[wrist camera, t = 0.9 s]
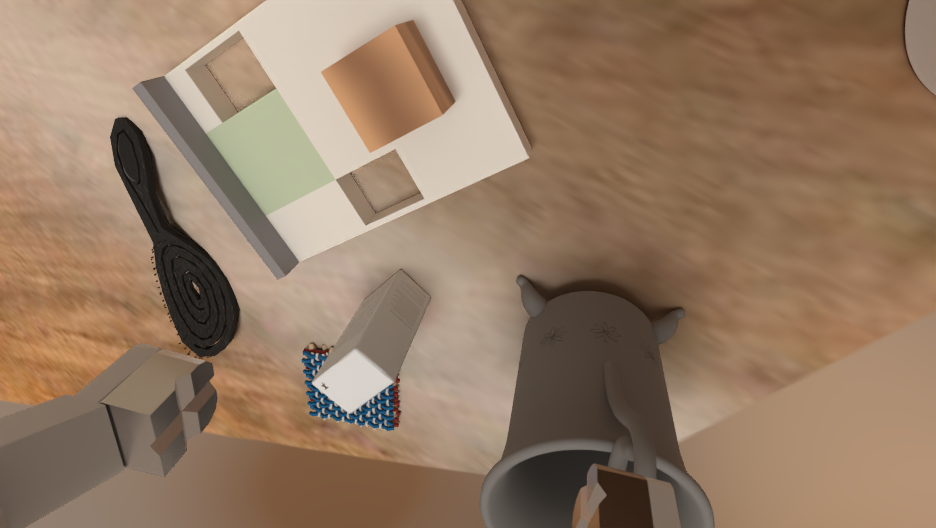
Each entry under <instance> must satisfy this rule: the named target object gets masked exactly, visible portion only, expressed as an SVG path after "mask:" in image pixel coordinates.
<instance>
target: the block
mask: <svg viewBox="0 0 936 528" xmlns="http://www.w3.org/2000/svg"><path fill="white" fill-rule="evenodd" d="M321 73H322V75H323V77H324V78H325V80H326V82H327V83H328V85H329V86H330V88H331V90H332V91H333V93H334V95H335V96H336V98H337V100H338V101H339V103H340V105H341V106H342V108H343V110H344V111H345V113H346V114H347V116H348V118H349V119H350V121H351V123H352V124H353V126H354V128H355V129H356V131H357V133H358V134H359V136H360V137H361V139H362V141H363V142H364V144H365V146H366V147H367V149H368V151H369V152H370V153H371V152H373V151H375V150H377V149H379V148H381V147H383V146H385V145H387V144H389V143H391V142H392V141H394V140H396V139H398V138H400V137H402V136H404V135H406V134H408V133H410V132H411V131H413V130H415V129H417V128H419V127H421V126H423V125H425V124H427V123H429V122H431V121H432V120H434V119H436V118H438V117H440V116H442V115H443V114H444V113H445V112H446V111H447V110H448V109H449V108H450V107H451V106H452V105H453V104H454V103H455V102H456V101H455V99H454V97H453V96H452V94H451V92H450V90H449V88H448V86H447V84H446V82H445V80H444V78H443V76H442V74H441V72H440V70H439V69H438V67H437V65H436V63H435V61H434V59H433V57H432V55H431V53H430V51H429V49H428V47H427V45H426V43H425V41H424V40H423V38H422V36H421V34H420V32H419V30H418V28H417V26H416V24H415V22H414V20H411V21H407V22H404V23H400V24H397V25H394V26H393V27H391V28H389V29H388V30H386V31H385V32H383V33H382V34H380V35H378V36H377V37H375V38H374V39H372V40H370V41H369V42H367V43H366V44H364V45H363V46H361V47H359V48H358V49H356V50H355V51H353V52H351V53H350V54H348V55H347V56H345V57H344V58H342V59H340V60H339V61H337V62H336V63H334V64H332V65H331V66H329V67H328V68H326V69H324V70H323V71H321Z"/></svg>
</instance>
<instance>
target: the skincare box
mask: <svg viewBox="0 0 936 528" xmlns="http://www.w3.org/2000/svg"><path fill="white" fill-rule="evenodd" d="M430 299H431V298H430V296H429V295H428V294H427V293H426V292H425V291H424V290H423V289H422V288H420V287H419V286H418V285H417V284H416V283H415V282H414V281H413V280H412V279H411V278H410V277H409V276H408V275H407V274H405V273H404V272H403V271H402V270H399V271H398V272H397V273H396V274H394V275H393V276H392V277H391V278H390V279H389V280H387V281H386V282H385V283H384V284H383V285H382V286H380V287H379V288H378V289H377V290H376V291H375V292H373V293H372V294H371V295H370V296H369V297H368V298H366V299H365V300H364V301H363V302H362V304H361V305H360V307H359V309H358V310H357V312H356V313H355V315H354V316H353V318H352V320H351V321H350V323H349V324H348V326H347V327H346V329H345V331H344V332H343V334H342V335H341V337H340V338H339V340H338V342H337V343H336V345H335V346H334V348H333V349H332V351H331V352H330V354H329V356H328V357H327V359H326V360H325V362H324V363H323V365H322V366H321V368H320V369H319V371H318V373H317V374H316V376H315V378H314V379H313V381H312V384H313V385H314V386H315V387H316V388H318V389H319V390H320V391H321V392H323V393H324V394H325V395H326V396H328V397H329V398H330V399H331V400H332V401H334V402H335V403H336V404H337V405H339V406H340V407H341V408H342V409H344V410H345V411H346V412H348V413H352V412H353V411H355V410H356V409H358V408H359V407H361V406H362V405H363V404H365V403H366V402H367V401H369V400H370V399H372V398H373V397H374V396H376V395H377V394H378V393H380V392H381V391H382V390H384V389H385V388H387V387H388V386H389V385H391V384H392V383H394V382H395V379H396V377H397V375H398V373H399V370H400V368H401V366H402V363H403V361H404V359H405V357H406V354H407V352H408V350H409V347H410V345H411V343H412V341H413V338H414V336H415V334H416V332H417V329H418V327H419V324H420V322H421V320H422V318H423V315H424V313H425V311H426V308H427V306H428V304H429V301H430Z"/></svg>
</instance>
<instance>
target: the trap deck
mask: <svg viewBox="0 0 936 528" xmlns="http://www.w3.org/2000/svg"><path fill="white" fill-rule="evenodd" d="M411 20H414V22H415V24H416V26H417V28H418V30H419V32H420V34H421V36H422V38H423V40H424V41H425V43H426V45H427V47H428V49H429V51H430V53H431V55H432V57H433V59H434V61H435V63H436V65H437V67H438V69H439V70H440V72H441V74H442V76H443V78H444V80H445V82H446V84H447V86H448V88H449V90H450V92H451V94H452V96H453V97H454V99H455V101H456V102H455V103H454V104H453V105H452V106H451V107H450V108H449V109H448V110H447V111H446V112H445V113H444V114H443V115H442V116H440V117H438V118H436V119H434V120H432V121H431V122H429V123H427V124H425V125H423V126H421V127H419V128H417V129H415V130H413V131H411V132H410V133H408V134H406V135H404V136H402V137H400V138H398V139H396V140H394V141H392V142H391V143H389V144H387V145H385V146H383V147H381V148H379V149H377V150H375V151H373V152H371V153H370V152H369V151H368V149H367V147H366V146H365V144H364V142H363V141H362V139H361V137H360V136H359V134H358V133H357V131H356V129H355V128H354V126H353V124H352V123H351V121H350V119H349V118H348V116H347V114H346V113H345V111H344V110H343V108H342V106H341V105H340V103H339V101H338V100H337V98H336V96H335V95H334V93H333V91H332V90H331V88H330V86H329V85H328V83H327V82H326V80H325V78H324V77H323V75H322V73H321V71H323V70H324V69H326V68H328V67H329V66H331V65H332V64H334V63H336V62H337V61H339V60H340V59H342V58H344V57H345V56H347V55H348V54H350V53H351V52H353V51H355V50H356V49H358V48H359V47H361V46H363V45H364V44H366V43H367V42H369V41H370V40H372V39H374V38H375V37H377V36H378V35H380V34H382V33H383V32H385V31H386V30H388V29H389V28H391V27H393V26H394V25H397V24H400V23H404V22H407V21H411ZM242 38H244V39H245V41H246V42H247V44H248V45H249V47H250V49H251V50H252V52H253V53H254V55H255V56H256V58H257V59H258V61H259V62H260V64H261V65H262V67H263V69H264V70H265V72H266V73H267V75H268V76H269V78H270V79H271V81H272V82H273V84H274V85H275V87H276V89H274V90H273V91H271V92H270V93H268V94H267V95H265V96H264V97H262V98H260V99H259V100H257V101H256V102H254V103H253V104H251V105H250V106H248V107H246V108H245V109H243V110H242V111H240V112H239V113H238V112H237V110H236V109H235V107H234V106H233V104H232V103H231V101H230V100H229V98H228V97H227V96H226V94H225V93H224V91H223V90H222V88H221V87H220V85H219V84H218V83H217V81H216V80H215V78H214V77H213V75H212V74H211V72H210V71H209V70H208V68H207V67H206V64H207V63H209V62H210V61H211V60H213V59H214V58H216V57H217V56H218V55H220V54H221V53H223V52H224V51H225V50H227V49H228V48H229V47H231V46H232V45H234V44H235V43H236V42H238V41H239V40H241V39H242ZM132 89H133V90H134V91H135V93H136V94H137V95H138V97H139V98H140V99H141V100H142V102H143V103H144V104H145V106H146V107H147V108H148V110H149V111H150V112H151V114H152V115H153V116H154V118H155V119H156V120H157V122H158V123H159V124H160V126H161V127H162V128H163V129H164V131H165V132H166V133H167V135H168V136H169V137H170V139H171V140H172V141H173V143H174V144H175V145H176V147H177V148H178V149H179V151H180V152H181V153H182V154H183V156H184V157H185V158H186V160H187V161H188V162H189V164H190V165H191V166H192V168H193V169H194V170H195V172H196V173H197V174H198V176H199V177H200V178H201V180H202V181H203V182H204V183H205V185H206V186H207V187H208V189H209V190H210V191H211V193H212V194H213V195H214V197H215V198H216V199H217V201H218V202H219V203H220V205H221V206H222V207H223V208H224V210H225V211H226V212H227V214H228V215H229V216H230V218H231V219H232V220H233V222H234V223H235V224H236V226H237V227H238V228H239V230H240V231H241V232H242V234H243V235H244V236H245V237H246V239H247V240H248V241H249V243H250V244H251V245H252V247H253V248H254V249H255V251H256V252H257V253H258V255H259V256H260V257H261V259H262V260H263V261H264V262H265V264H266V265H267V266H268V268H269V269H270V270H271V272H272V273H273V274H274V276H275V277H276V278H277V280H278V279H280V278H282V277H285V276H286V275H287V274H288V273H289V272H290V271H291V270H292V269H293V268H294V267H295V266H296V265H297V264H298V263H299V262H300V261H303V260H305V259H307V258H309V257H312V256H314V255H316V254H318V253H320V252H323V251H325V250H327V249H329V248H331V247H334V246H336V245H338V244H340V243H343V242H345V241H347V240H349V239H351V238H354V237H356V236H358V235H360V234H362V233H365V232H367V231H369V230H371V229H373V228H376V227H378V226H380V225H382V224H385V223H387V222H389V221H391V220H393V219H396V218H398V217H400V216H402V215H404V214H407V213H409V212H411V211H413V210H416V209H418V208H420V207H422V206H424V205H427V204H429V203H431V202H433V201H435V200H438V199H440V198H442V197H444V196H446V195H449V194H451V193H453V192H455V191H458V190H460V189H462V188H464V187H466V186H469V185H471V184H473V183H475V182H477V181H480V180H482V179H484V178H486V177H489V176H491V175H493V174H495V173H497V172H500V171H502V170H504V169H506V168H508V167H511V166H513V165H515V164H517V163H520V162H522V161H524V160H526V159H528V158H529V157H530V153H531V149H532V147H531V145H530V143H529V141H528V139H527V137H526V135H525V133H524V131H523V128H522V126H521V124H520V122H519V120H518V118H517V116H516V114H515V112H514V110H513V107H512V105H511V103H510V101H509V99H508V97H507V95H506V93H505V91H504V89H503V86H502V84H501V82H500V80H499V78H498V76H497V74H496V72H495V70H494V68H493V65H492V63H491V61H490V59H489V57H488V55H487V53H486V51H485V49H484V47H483V44H482V42H481V40H480V38H479V36H478V34H477V32H476V30H475V28H474V26H473V23H472V21H471V19H470V17H469V15H468V13H467V11H466V9H465V7H464V5H463V3H462V0H266V1H265V2H263V3H262V4H261V5H259V6H258V7H256V8H255V9H254V10H252V11H251V12H250V13H248V14H247V15H246V16H244V17H243V18H242V19H240V20H239V21H238V22H236V23H235V24H234V25H232V26H231V27H230V28H228V29H227V30H225V31H224V32H223V33H221V34H220V35H219V36H217V37H216V38H215V39H213V40H212V41H211V42H209V43H208V44H207V45H205V46H204V47H203V48H201V49H200V50H199V51H197V52H196V53H194V54H193V55H192V56H190V57H189V58H188V59H186V60H185V61H184V62H182V63H181V64H180V65H178V66H177V67H176V68H174V69H173V70H172V71H170V72H169V73H168V74H166V75H165V76H163V77H159V78H155V79H151V80H147V81H143V82H140V83H139V84H137V85H136V86H135V87H133V88H132ZM394 149H396V151H397V153H398V154H399V156H400V158H401V160H402V161H403V163H404V165H405V166H406V168H407V170H408V171H409V173H410V175H411V177H412V178H413V180H414V182H415V183H416V185H417V187H418V189H419V190H420V192H421V193H419V194H417V195H415V196H413V197H411V198H408V199H406V200H404V201H402V202H400V203H398V204H396V205H393V206H391V207H389V208H387V209H385V210H383V211H381V212H378V213H376V214H375V212H374V210H373V209H372V207H371V206H370V204H369V202H368V201H367V199H366V198H365V196H364V195H363V193H362V191H361V190H360V188H359V187H358V185H357V184H356V182H355V180H354V179H353V177H352V176H351V174H350V172H352V171H353V170H355V169H357V168H359V167H361V166H363V165H365V164H367V163H369V162H371V161H373V160H375V159H377V158H379V157H381V156H383V155H384V154H386V153H388V152H390V151H392V150H394Z"/></svg>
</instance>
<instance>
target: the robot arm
mask: <svg viewBox="0 0 936 528" xmlns="http://www.w3.org/2000/svg"><path fill="white" fill-rule="evenodd" d="M905 41H906V48H907V53H908V57H909V60H910V63H911V65H912V67H913V70H914V71H915V73H916V75H917V76H918V78H919V79H920V81H921V82H922V83H923V84H924V85H925V86H926V88H928V89H929V90H930V91H931V92H932V93H933V94H935V95H936V0H909V4H908V8H907V14H906V22H905ZM213 376H214V371H213V366H212V363H209V362H207V361H203V360H200V359H197V358H193V357H190V356H187V355H183V354H180V353H176V352H173V351H170V350H166V349H162V348H159V347H155V346H151V345H148V344H144V343H141V344H138V345H135V346H133V347H132V348H131V349H129V350H128V351H127V352H126V353H125V354H123V355H122V356H121V357H120V358H119V359H117V360H116V361H115V362H114V363H113V364H112V365H110V366H109V367H108V368H107V369H106V370H104V371H103V372H102V373H101V374H100V375H98V376H97V377H96V378H95V379H94V380H92V381H91V382H90V383H89V384H88V385H86V386H85V387H84V388H83V389H82V390H81V391H79V392H78V393H77V394H76V395H75V396H72V395H68V394H67V395H64V396H61V397H58V398H56V399H53V400H50V401H47V402H44V403H42V404H39V405H36V406H33V407H31V408H28V409H25V410H22V411H19V412H16V413H14V414H11V415H8V416H5V417H2V418H0V528H25V527H27V526H28V525H30V524H31V523H34V522H35V521H37V520H39V519H40V518H42V517H44V516H46V515H47V514H49V513H51V512H53V511H54V510H56V509H58V508H60V507H61V506H63V505H65V504H66V503H68V502H70V501H72V500H73V499H75V498H77V497H79V496H80V495H82V494H83V493H85V492H87V491H89V490H91V489H92V488H94V487H96V486H98V485H99V484H101V483H103V482H105V481H106V480H108V479H110V478H112V477H113V476H115V475H117V474H118V473H120V472H122V471H124V469H125V468H130V469H133V470H138V471H141V472H145V473H150V474H153V475H157V476H161V477H165V476H166V475H167V474H168V473H169V472H170V470H171V469H172V468H173V467H174V466H175V464H176V463H177V462H178V461H179V459H180V458H181V457H182V456H183V455H184V453H185V452H186V451H187V440H188V439H190V438H192V437H194V436H196V435H198V434H200V433H201V432H202V431H203V430H204V429H205V427H206V426H207V425H208V423H209V422H210V420H211V418H212V416H213V413H214V411H215V409H216V403H217V392H216V389H215V388H214V387H213V386H212V384H211V383H210V382H209V380H210V379H211V378H212V377H213ZM124 467H125V468H124ZM572 528H681V525H680V520H679V515H678V510H677V504H676V499H675V494H674V489H673V487H672V485H671V484H670V483H668V482H664V481H660V480H657V479H653V478H649V477H645V476H642V475H639V474H635V473H631V472H627V471H623V470H619V469H615V468H611V467H607V466H603V465H599V464H595V463H594V464H593V465H592V466H591V467H590V469H589V471H588V473H587V486H584V487H582V488H581V489H580V491H579V494H578V496H577V499H576V503H575V507H574V511H573V520H572Z"/></svg>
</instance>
